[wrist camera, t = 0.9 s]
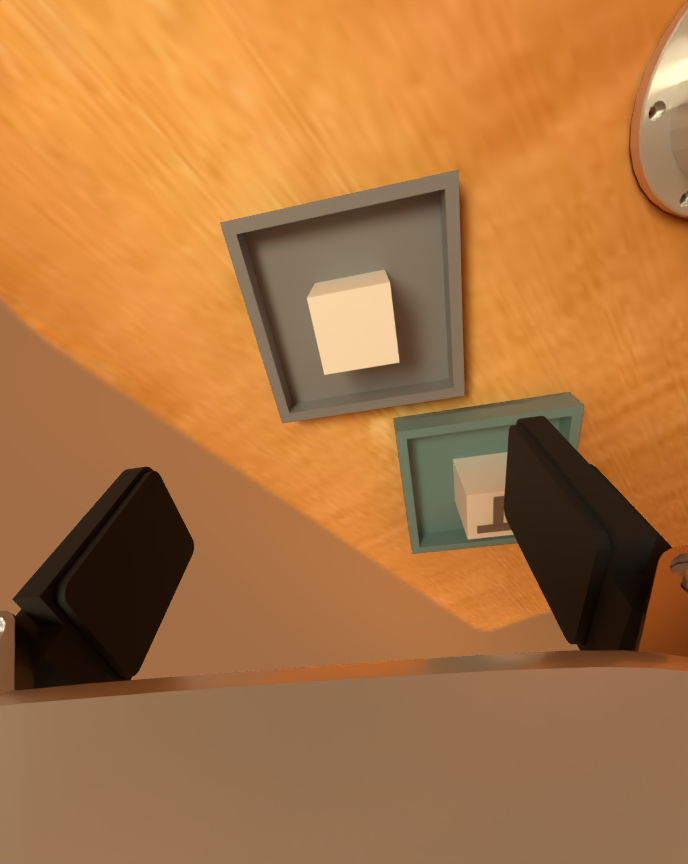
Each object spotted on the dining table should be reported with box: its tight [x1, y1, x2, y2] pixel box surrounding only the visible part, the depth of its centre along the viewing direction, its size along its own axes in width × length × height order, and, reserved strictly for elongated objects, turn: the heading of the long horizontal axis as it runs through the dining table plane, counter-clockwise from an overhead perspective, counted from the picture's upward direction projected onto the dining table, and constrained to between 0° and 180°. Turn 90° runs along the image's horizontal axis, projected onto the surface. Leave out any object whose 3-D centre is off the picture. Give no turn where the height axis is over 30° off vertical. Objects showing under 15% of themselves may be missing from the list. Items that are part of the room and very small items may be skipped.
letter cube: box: [453, 452, 514, 539], centre depth 33 cm, size 5×5×5 cm
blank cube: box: [307, 270, 399, 375], centre depth 26 cm, size 5×5×5 cm
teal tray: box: [393, 392, 584, 554], centre depth 35 cm, size 15×15×2 cm
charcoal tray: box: [220, 170, 465, 423], centre depth 27 cm, size 15×15×2 cm
